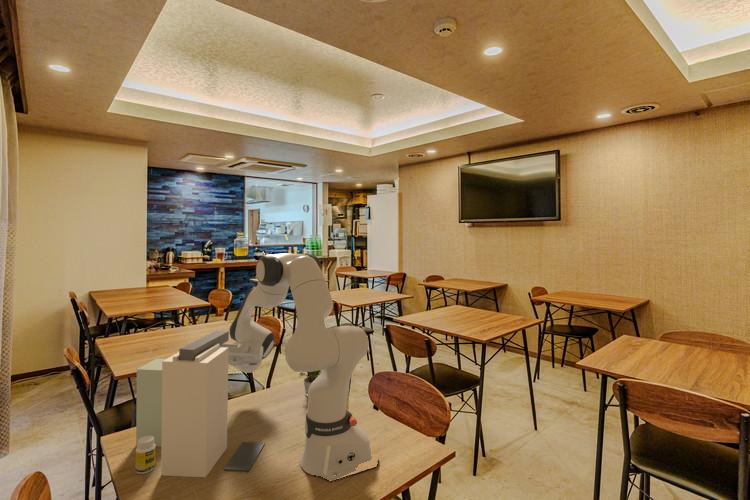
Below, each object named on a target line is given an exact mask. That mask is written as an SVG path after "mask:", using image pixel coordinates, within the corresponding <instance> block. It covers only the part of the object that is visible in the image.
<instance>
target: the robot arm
mask: <svg viewBox="0 0 750 500" xmlns="http://www.w3.org/2000/svg"><path fill="white" fill-rule="evenodd" d="M255 274H256V278H257V281H258V282H257V285H256V286H253V287H252V288H250V289H249V290H247V293H246V294H245V297H244V298H243V300H242V302H241V305H240V306H239V309H238V311H237V314H236V315H235V318H234V320H233V321H232V323H231V325H230V327H229V330H228V331H229V337H230V339H231V340H232V341H235V342H233V343H223V344H222V345H220V347H228V348H229V354H228V365H229V366H231V367H233V368H235V369H237V370H238V371H240V372H243V373H248V374H249V373H253V372H255V371H257V370H258V369H259V368H260V367H261V365H262V361H263V360H265V359H266V358H267V357H268V356H269V354H270V353H271V352H272V351H273V349H274V346H275V344H276V343H275V342H276V341H275V340H276V339H275V337H276V336H275V334H274V332H272V331H271V330H270V329H268V328H266V327H265V326H263V325H261V324H260V323H258V322H256V321H254V319H252V314H253V312H254V309H255V308H256V307H260V308H265V309H271V308H275V307H279V306H281V304H282V303H283V302H285V300H286V298H287V295H288V291H289V289H290V291H291V295H292V300H293V302H294V303H293V304H294V307H295V311H296V315H297V317H296V318H297V323H296V326H295V327H296V328H295V330H294V332H293V334H292V335H291V336H290V337H289V339H288V340H287V341H286V345H285V347H284V358H285V361H286V364H287V365H288V367H289V368H290V369H291V370H292V371H294V372H297V373H301V372H302V373H307V372H313V371H317V370H321V371H322V372H321V371H320V372H321V373H320V375H318V377H317V378H316V379H315V380H314V381H313V382H312V383H311V385H310V387H309V390H308V396H307V412H306V414H305V420H304V421H305V422H304V423H305V425H304V430H305V431H304V432H305V441H304V448H303V451H302V456H301V459H300V462H299V463H300V466H301V469H302V470H303V471H304V472H305V473H307V474H309V475H311V476H314V475H316V476H315V477H318V476H321V477H320V478H322V477H323V478H322V479H324V478H325V479H327V480H335V479H337V478H340V477H342V476H344V475H347V474H349V473H351V472H354V471H356V469H355V468H357V467H358V465H359V464H361V463H364V462H367V461H370V460H371V459H372V456H371V446H370V444H371V443H370V439H369V436H368V435H367V433H366V432H365V431H364V429H362V428H361V427H359V426H358V420H357V419H356V417H355V416H353V413H352V412H350V411H349V409H348V410H347V409H346V400H347V389H348V385H349V381H350V382H351V378H352V375H353V373H354V371H355V370H356V368H357V366H358V364H359V363H360V361H362V359H363V358H364V357H365V356H366V355H367V353H368V352H369V343H370V342H369V337H368V336H367V333H366V332H365V330H364V329H363V328H362V327H360V326H355V325H354V326H353V325H341V326H334V327H326V325H325V319H327V318H328V316H329V315H331V314H332V311H333V309H334V301H333V297H332V295H331V292H330V289H329V287H328V284H327V281H326V279H325V276H324V274H323V272H322V263H321V261H320V259H319V258H318V256H316V255H313V254H311V253H305V254H304V253H290V252H284V253H282V252H281V253H276V254H272V253H269V254H268V253H267V254H264V255H262V256H261V257H259V259H258V260H257V261H256V266H255ZM334 475H336V476H334ZM325 479H324V480H325ZM327 480H326V481H327Z"/></svg>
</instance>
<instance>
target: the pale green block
mask: <svg viewBox="0 0 750 500" xmlns="http://www.w3.org/2000/svg"><path fill="white" fill-rule="evenodd" d="M166 359H167V358H155V359H153V360H151V361H149V362H148V363H146V364H144V365H141V366H140V367H138V368H137V369H136V417H135V419H136V425H135V426H136V430H135V433H136V435H135V440H136V441H135V445H136V446H137V441H138V440H139V439H140V438H142V437H144V436H153V437H154V441H155V442H154V443H155V445H156V447H161V441H162V361H164V360H166Z"/></svg>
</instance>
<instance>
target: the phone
mask: <svg viewBox="0 0 750 500" xmlns="http://www.w3.org/2000/svg"><path fill="white" fill-rule="evenodd" d="M265 444H266V443H265V442H260V441H259V442H258V441H257V442H255V441H242V442H241V443H240V445H239V446H238V448H237V449H236V450H235V452H234V454H233V455H232V456H231V458H230V459H229V461H228V462H227V464H226V465H225V466H224V468H223V471H224V472H225V471H226V472H228V471H229V472H243V473H245V472H246V473H249V472H250V471H251V469H252V467H253V465H254V464H255V462H256V460H257V458H258V457H259V455H260V453H261V451H262V449H263V448H264V446H265Z"/></svg>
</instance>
